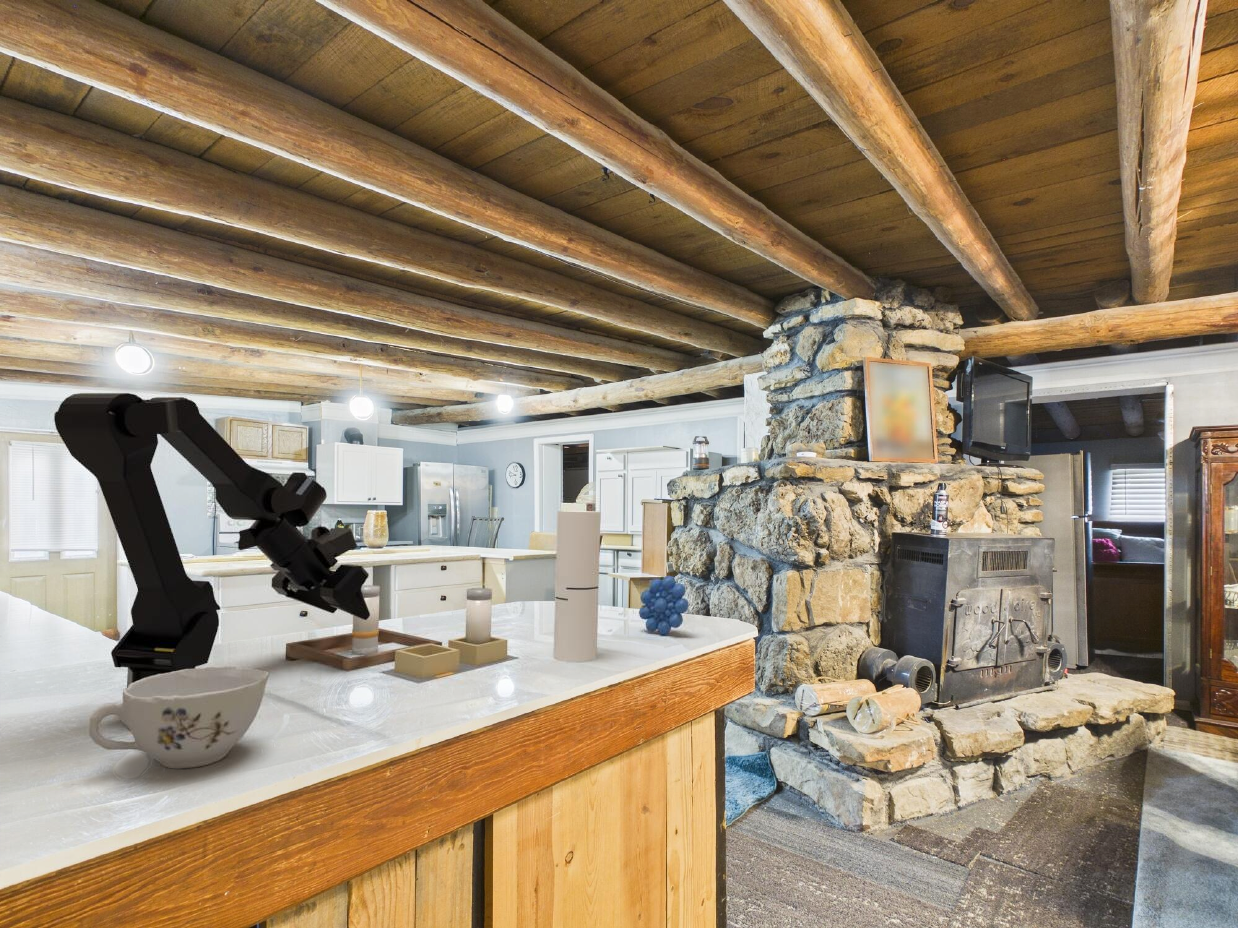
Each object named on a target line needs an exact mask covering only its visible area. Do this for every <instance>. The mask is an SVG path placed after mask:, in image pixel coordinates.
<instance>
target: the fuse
mask: <svg viewBox="0 0 1238 928" xmlns="http://www.w3.org/2000/svg"><path fill="white" fill-rule="evenodd" d="M492 600H493V589H492V588H488V587H485V588H484V587H475V588H468V589H466V603H465V604H466V606H465V608H466V610H465V611H466V612H465V636H464V637H465V643H470V644H474V645H480V644H485V643H489V642H491V636H492V607H493V605H492V602H493V601H492Z"/></svg>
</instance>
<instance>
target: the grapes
mask: <svg viewBox="0 0 1238 928" xmlns="http://www.w3.org/2000/svg"><path fill="white" fill-rule="evenodd" d="M648 588H649V589H645V590H643V591H642V593H640V602H641V603H642V604H643V605H642V606H641V607H640V608H639V610H638V615H639V617H640V619H642V620H646V622H645V629H646V630H647V631H649V632H655V631H657V632H658V634H659V635H663V636H665V635H668V634H669V633H670V631H671V630H672V628H674V629H677V628H680V626H681V625H682V624H683V621H684V617H683V615H682V614H684V613H686V611H688V609H689V601H688V600H687V598H683V597H684V596H685V595H686V591H687V590H686V585H684V584H683V583H679V582H678V583H676V580H675V578H674V576H671V575H666V576H665V577H663V579H661V578H652V580H650V582H649V585H648Z"/></svg>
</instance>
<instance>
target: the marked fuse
mask: <svg viewBox="0 0 1238 928" xmlns="http://www.w3.org/2000/svg"><path fill="white" fill-rule="evenodd" d="M380 587H381V586H379V585H377V584H376V585H373V584H371V585H370V584H367V585H364V584H363V585H362V588H361V591H362V594H363V597H364V600H365V602H366V605H367V608H368V610H369V613H370V616H369V618H368V619H367V620H363V619H361V618H358V617H356V616H354V615H352V629H351V630H352V632H351V633H352V650H351V654H352V655H355V656H363V655H369V654H374V653H379V649H378V648H379V645H378V635H379V629H378V628H379V625H380V624H379V622H380V591H381V590H380Z"/></svg>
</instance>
